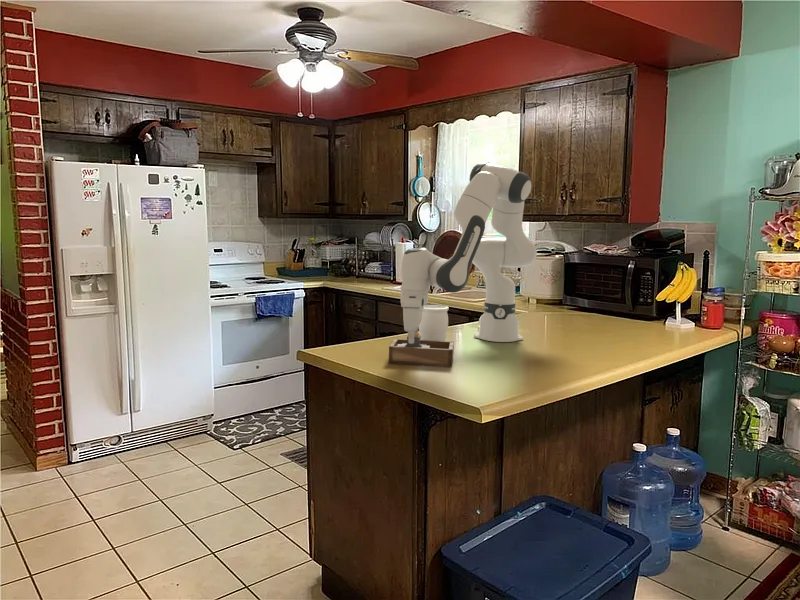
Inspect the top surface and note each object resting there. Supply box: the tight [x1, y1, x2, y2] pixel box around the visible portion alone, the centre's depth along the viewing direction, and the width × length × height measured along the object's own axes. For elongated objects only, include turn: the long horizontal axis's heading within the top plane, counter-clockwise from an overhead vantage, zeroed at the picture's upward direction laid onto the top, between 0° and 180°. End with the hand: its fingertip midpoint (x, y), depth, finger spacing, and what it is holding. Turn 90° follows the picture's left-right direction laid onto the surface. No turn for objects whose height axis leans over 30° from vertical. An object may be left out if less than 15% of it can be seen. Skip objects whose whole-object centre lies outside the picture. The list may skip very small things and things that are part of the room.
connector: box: [406, 331, 421, 348], centre depth 198 cm, size 4×4×8 cm
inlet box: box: [388, 338, 455, 368], centre depth 198 cm, size 13×20×6 cm, turn 83°
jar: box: [418, 304, 449, 341], centre depth 216 cm, size 11×10×15 cm
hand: (413, 340), depth 198 cm, fingers open, 8 cm apart
